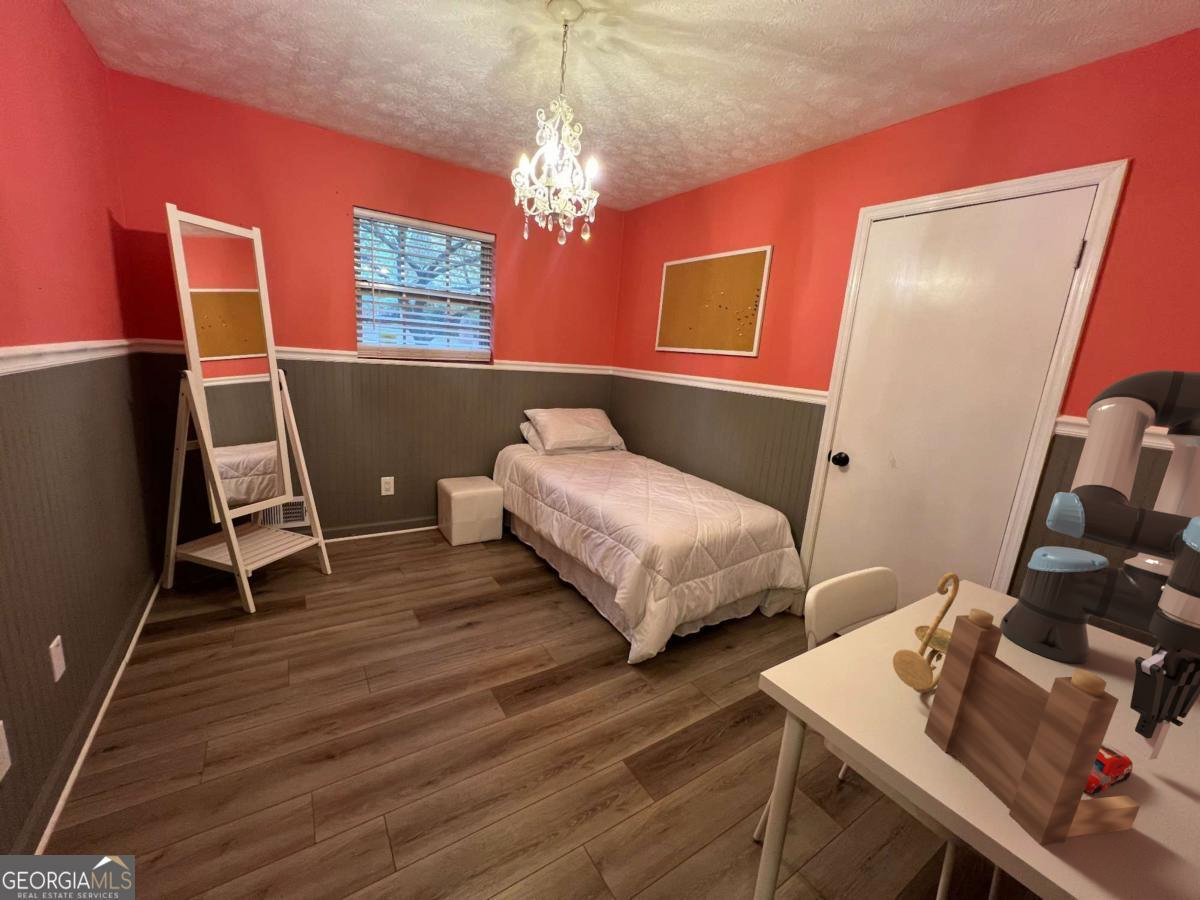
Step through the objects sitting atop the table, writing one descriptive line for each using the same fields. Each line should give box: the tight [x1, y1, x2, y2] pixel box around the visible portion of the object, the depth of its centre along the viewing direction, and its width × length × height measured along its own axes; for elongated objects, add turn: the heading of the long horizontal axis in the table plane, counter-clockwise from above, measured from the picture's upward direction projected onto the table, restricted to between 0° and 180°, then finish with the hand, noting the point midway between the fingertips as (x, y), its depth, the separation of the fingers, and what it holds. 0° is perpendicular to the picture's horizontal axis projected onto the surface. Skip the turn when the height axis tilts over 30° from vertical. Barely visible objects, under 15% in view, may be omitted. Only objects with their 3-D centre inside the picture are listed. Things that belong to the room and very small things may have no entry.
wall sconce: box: [892, 572, 960, 694], centre depth 84 cm, size 14×10×25 cm
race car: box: [1084, 742, 1133, 796], centre depth 71 cm, size 13×5×4 cm, turn 108°
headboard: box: [924, 608, 1141, 846], centre depth 67 cm, size 16×18×24 cm
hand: (1141, 751), depth 73 cm, fingers closed
